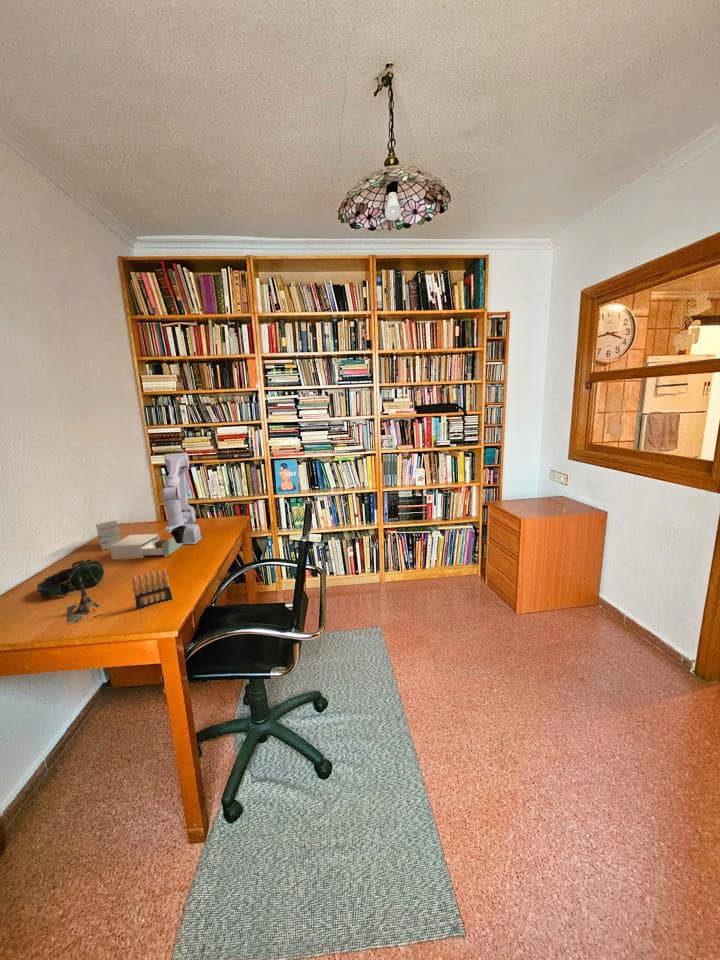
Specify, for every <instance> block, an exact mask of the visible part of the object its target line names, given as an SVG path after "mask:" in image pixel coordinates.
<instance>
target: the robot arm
mask: <svg viewBox="0 0 720 960" xmlns="http://www.w3.org/2000/svg"><path fill="white" fill-rule="evenodd" d="M163 459H164V464H165V467H166V468H167V470H168V475H167V476H166V477H165V484H164V489H162V491H161V495H162V500H163V503H164V505H165V509H166V514H167V519H168V523H166V527H165V528H164V532H165V534H170V535H171V536H172V537H174V539H175V541H176V543H182V546H184V545H195V544H196V543H198V542H199V541H201V540H202V535H201V530H200V529H201V528H200V526H199V524H197V523H196V524H195V522H196V518H197V517H196V513H195V509H194V507H193V506H191V505H190V504H188V494H187V493H188V492H187V483H186V481H187V480H186V473H187V472H188V471H189V470H190V459H189V455H188V453H187V452H179V453H177V452H176V453H166V454H165V455H164V458H163Z"/></svg>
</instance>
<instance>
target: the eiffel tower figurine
mask: <svg viewBox="0 0 720 960" xmlns="http://www.w3.org/2000/svg"><path fill="white" fill-rule="evenodd" d="M79 576H80V575H79ZM79 580H80V587H81V588H80V590H81V591H80V594H81V595H80V602H79V603H78V604H73V605H70V606H67V614H66V623H69V624H70V623H78V622H80V621H79V619H80V620H81V618H82V615H86V616H89V615H90V614H91V613H90V611H89V606H96V607H99V606H100V605H99V604H98V603H96V602H95V601H94V599H91V598H90V597H89V595H88V594H87V592H86V589H85V588H84V585H83V582H82V578H81V577H80V578H79ZM76 605H79V606H78V607H77V606H76ZM75 607H76V608H75ZM99 608H100V607H99ZM75 609H76V610H75ZM74 610H75V611H74ZM89 613H90V614H89ZM88 614H89V615H88ZM83 619H84V620H86V619H85V618H83Z"/></svg>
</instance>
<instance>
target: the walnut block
mask: <svg viewBox="0 0 720 960" xmlns="http://www.w3.org/2000/svg"><path fill="white" fill-rule="evenodd" d="M167 540H169V539H168V538H167V539H166V538H165V539H159V540H158V541H157V542H155V548H162V544H163V543H164V542H166V541H167Z"/></svg>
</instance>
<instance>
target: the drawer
mask: <svg viewBox="0 0 720 960" xmlns="http://www.w3.org/2000/svg"><path fill="white" fill-rule="evenodd" d="M157 541H158V540H151V541H150V542H148V543H146V544H145V545H143V546H142V551H143V555H147V556H163V558H168V557H169V556H170V555H171V554H173V553H174V552H176V551H177V550H178V549H180V548H182V546H183V545H182V543H176V541H175V539H174V537H173V536H172V537H171V538H169V539H168V540H167V541H166V542H164V543H163V544H162V548H155V542H157Z"/></svg>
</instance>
